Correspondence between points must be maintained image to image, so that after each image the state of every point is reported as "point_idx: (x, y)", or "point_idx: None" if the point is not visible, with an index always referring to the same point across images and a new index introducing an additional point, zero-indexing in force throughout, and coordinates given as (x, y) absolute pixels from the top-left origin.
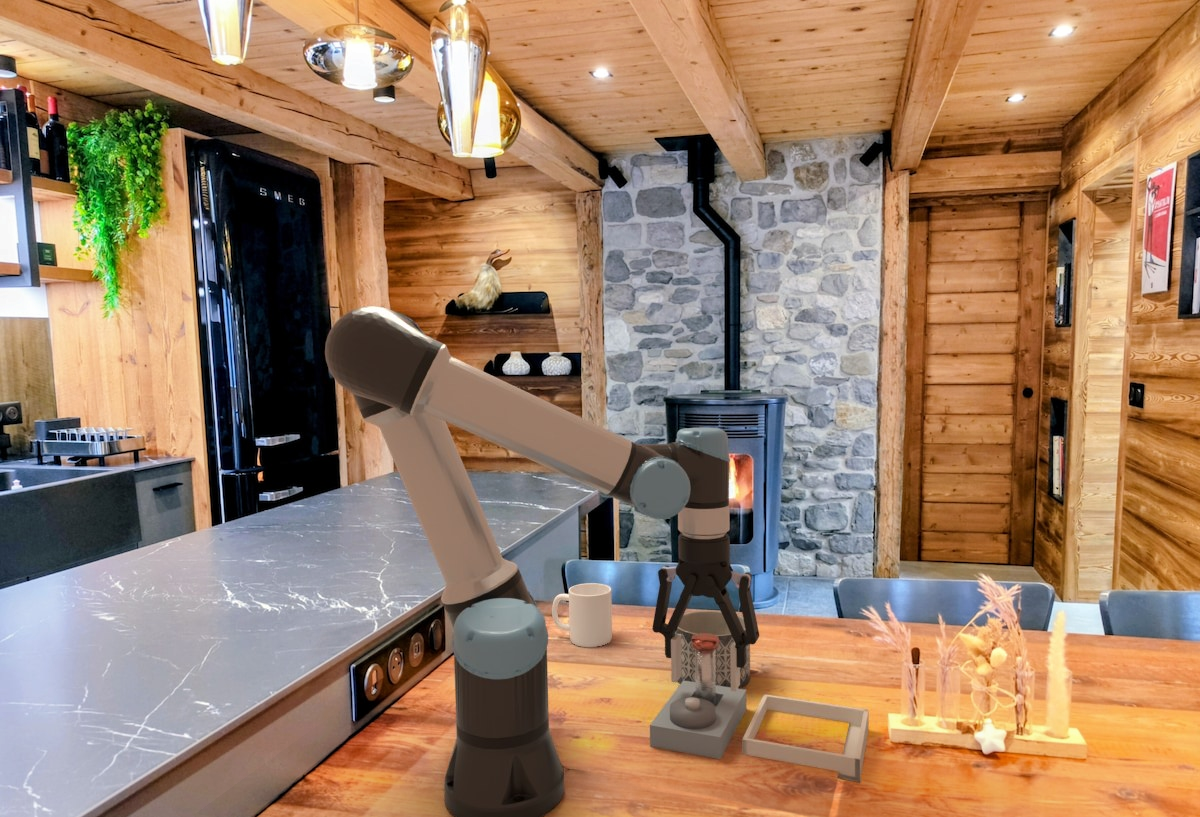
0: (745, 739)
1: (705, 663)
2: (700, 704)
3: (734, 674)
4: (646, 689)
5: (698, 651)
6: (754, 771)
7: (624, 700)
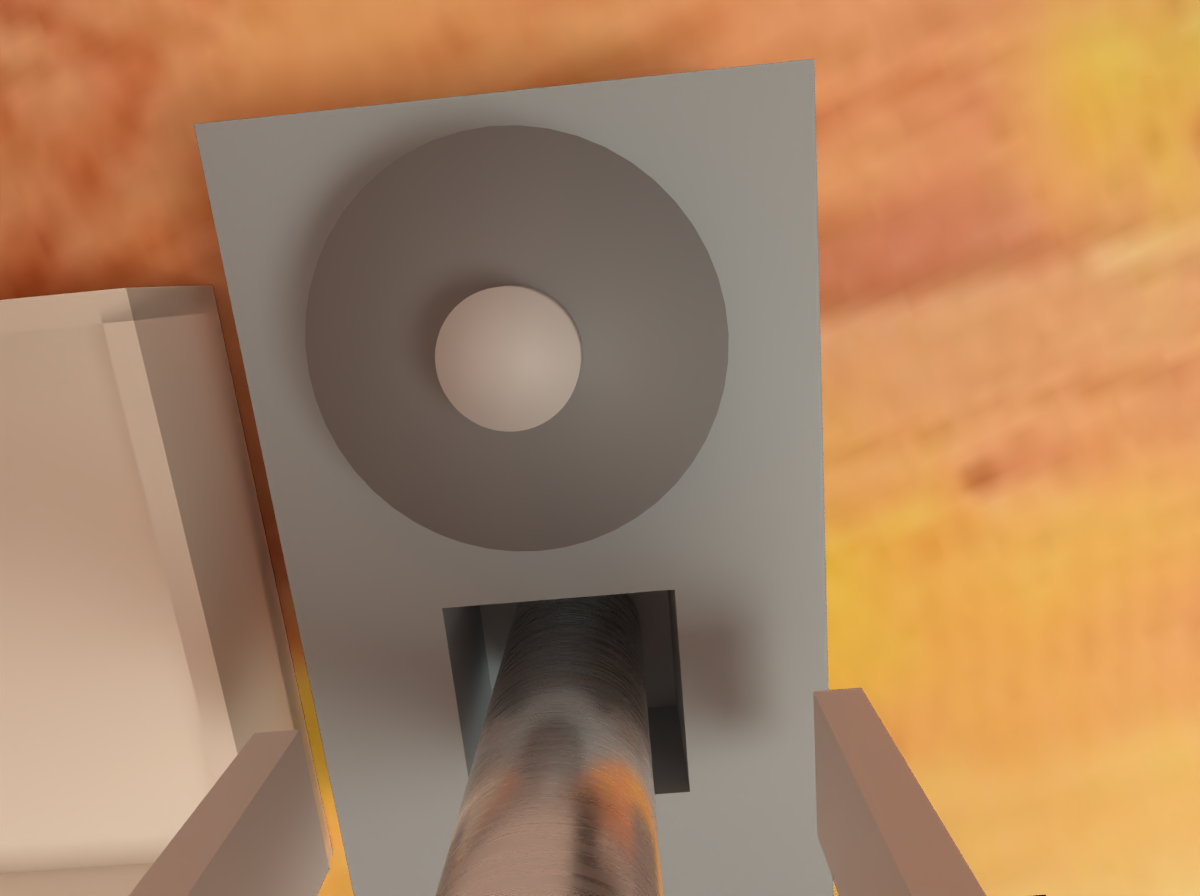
0: (107, 299)
1: (488, 893)
2: (474, 438)
3: (173, 851)
4: (1069, 864)
5: None
6: (100, 198)
7: (1159, 689)
